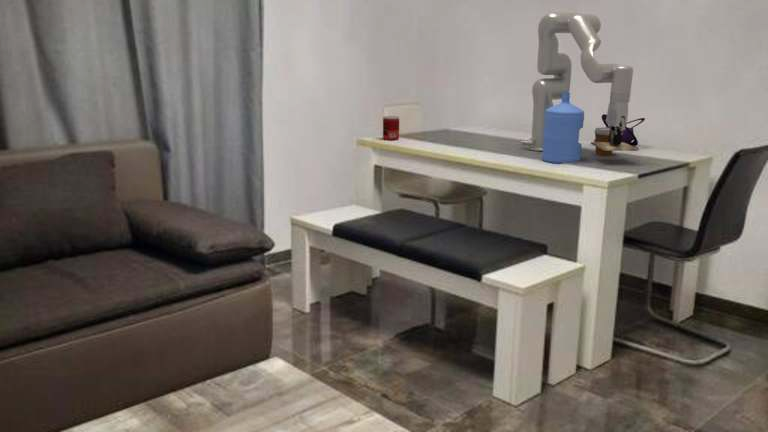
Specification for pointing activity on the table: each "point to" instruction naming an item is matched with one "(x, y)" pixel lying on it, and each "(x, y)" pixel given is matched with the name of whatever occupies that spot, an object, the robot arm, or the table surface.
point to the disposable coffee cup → (602, 140)
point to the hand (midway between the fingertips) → (614, 142)
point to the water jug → (562, 132)
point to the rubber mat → (615, 162)
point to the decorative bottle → (626, 132)
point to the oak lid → (614, 145)
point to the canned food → (390, 128)
